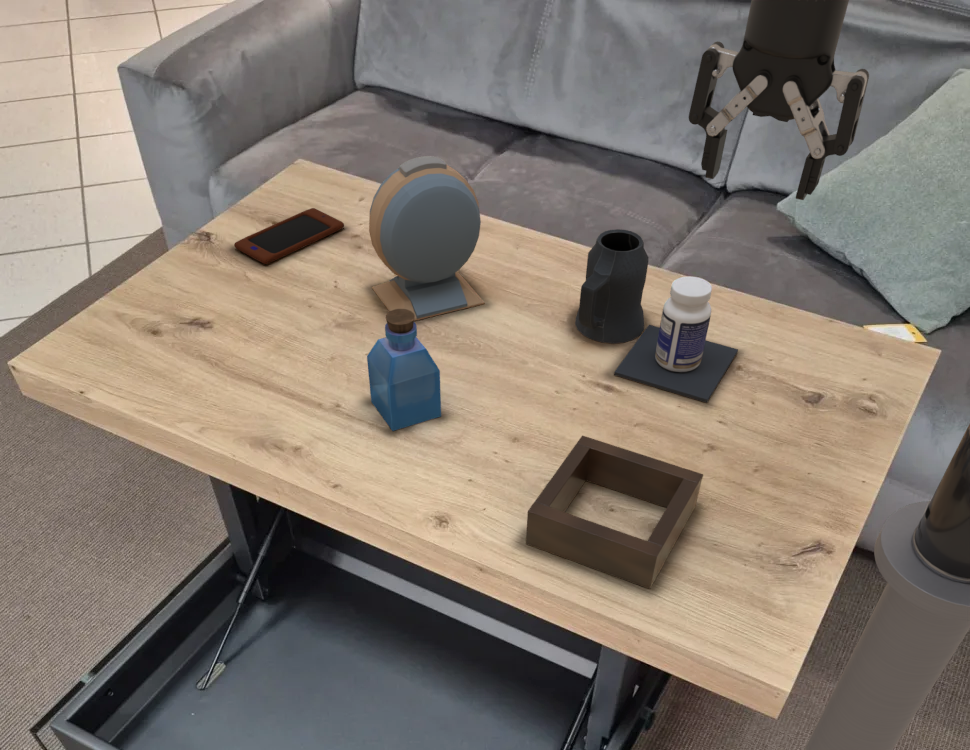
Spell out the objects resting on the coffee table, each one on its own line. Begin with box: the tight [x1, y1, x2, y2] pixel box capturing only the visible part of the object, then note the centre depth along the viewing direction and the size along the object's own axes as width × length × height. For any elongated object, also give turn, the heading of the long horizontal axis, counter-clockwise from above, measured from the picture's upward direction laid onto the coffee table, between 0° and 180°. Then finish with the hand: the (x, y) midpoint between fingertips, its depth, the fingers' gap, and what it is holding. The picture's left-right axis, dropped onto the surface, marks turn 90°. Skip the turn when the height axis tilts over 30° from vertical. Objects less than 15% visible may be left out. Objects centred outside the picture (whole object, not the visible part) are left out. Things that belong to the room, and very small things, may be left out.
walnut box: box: [525, 435, 704, 590], centre depth 96 cm, size 14×14×4 cm
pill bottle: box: [655, 275, 713, 372], centre depth 113 cm, size 6×6×10 cm
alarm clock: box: [368, 155, 485, 322], centre depth 119 cm, size 14×10×18 cm
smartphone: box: [233, 207, 345, 265], centre depth 135 cm, size 7×1×15 cm
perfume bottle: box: [366, 309, 442, 432], centre depth 106 cm, size 6×6×12 cm
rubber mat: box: [613, 324, 739, 404], centre depth 117 cm, size 12×12×1 cm
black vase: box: [574, 228, 649, 344], centre depth 117 cm, size 12×9×11 cm
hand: (756, 185), depth 86 cm, fingers open, 8 cm apart
